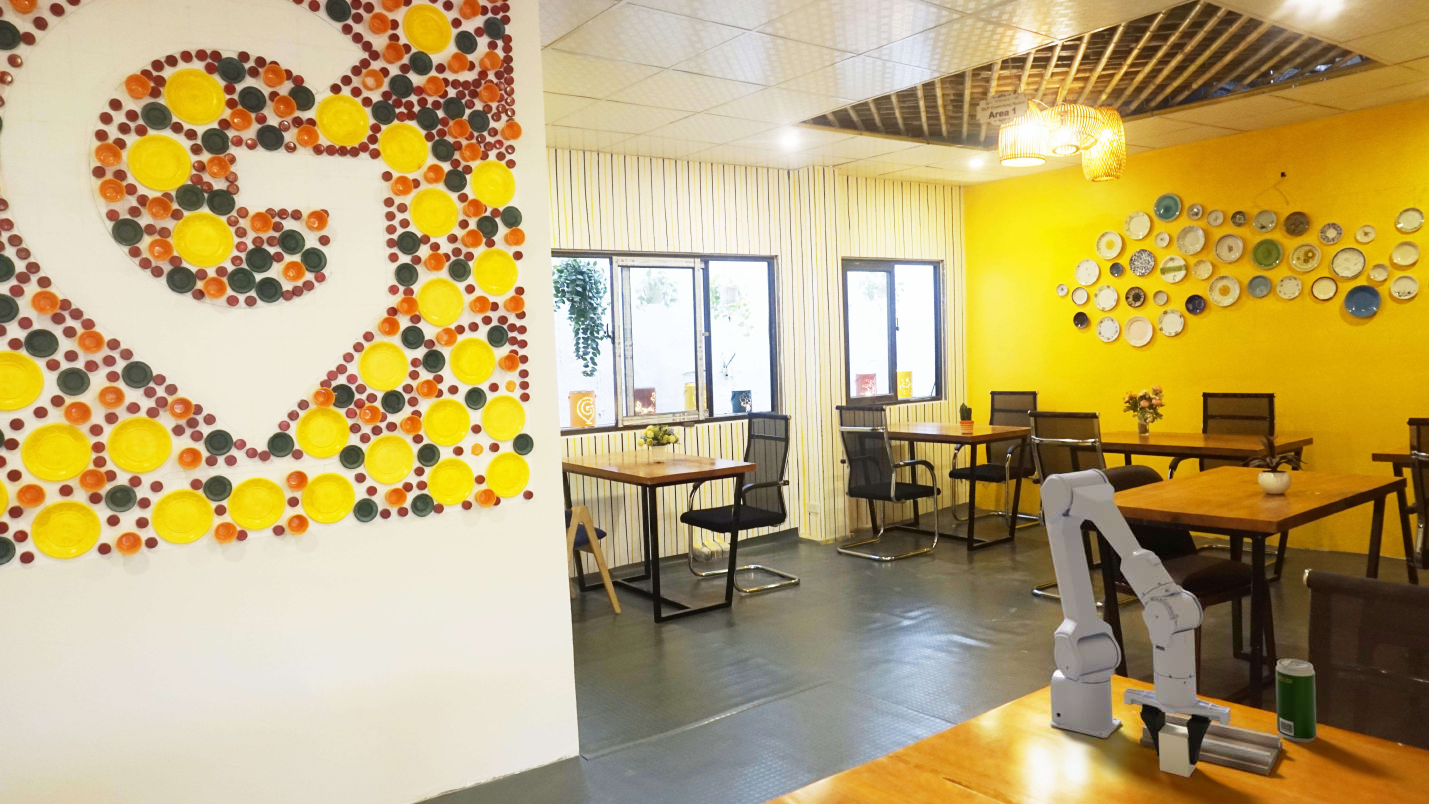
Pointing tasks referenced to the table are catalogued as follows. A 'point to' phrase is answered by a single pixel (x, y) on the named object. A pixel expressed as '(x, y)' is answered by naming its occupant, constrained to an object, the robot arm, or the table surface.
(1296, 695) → the beer can
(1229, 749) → the track
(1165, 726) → the cream block
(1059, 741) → the table surface
